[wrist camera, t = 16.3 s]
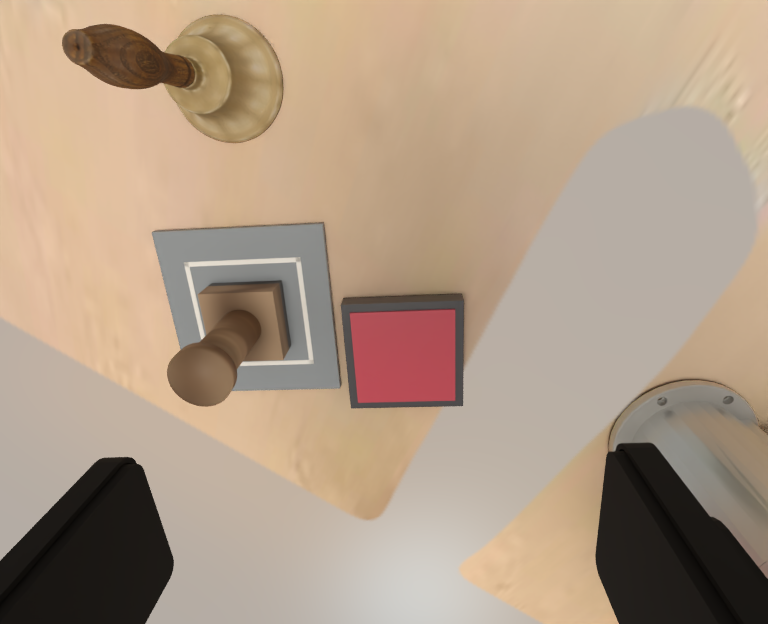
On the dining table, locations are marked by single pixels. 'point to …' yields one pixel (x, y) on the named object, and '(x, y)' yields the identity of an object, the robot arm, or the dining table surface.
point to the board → (258, 263)
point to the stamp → (231, 339)
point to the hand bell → (192, 71)
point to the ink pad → (404, 350)
